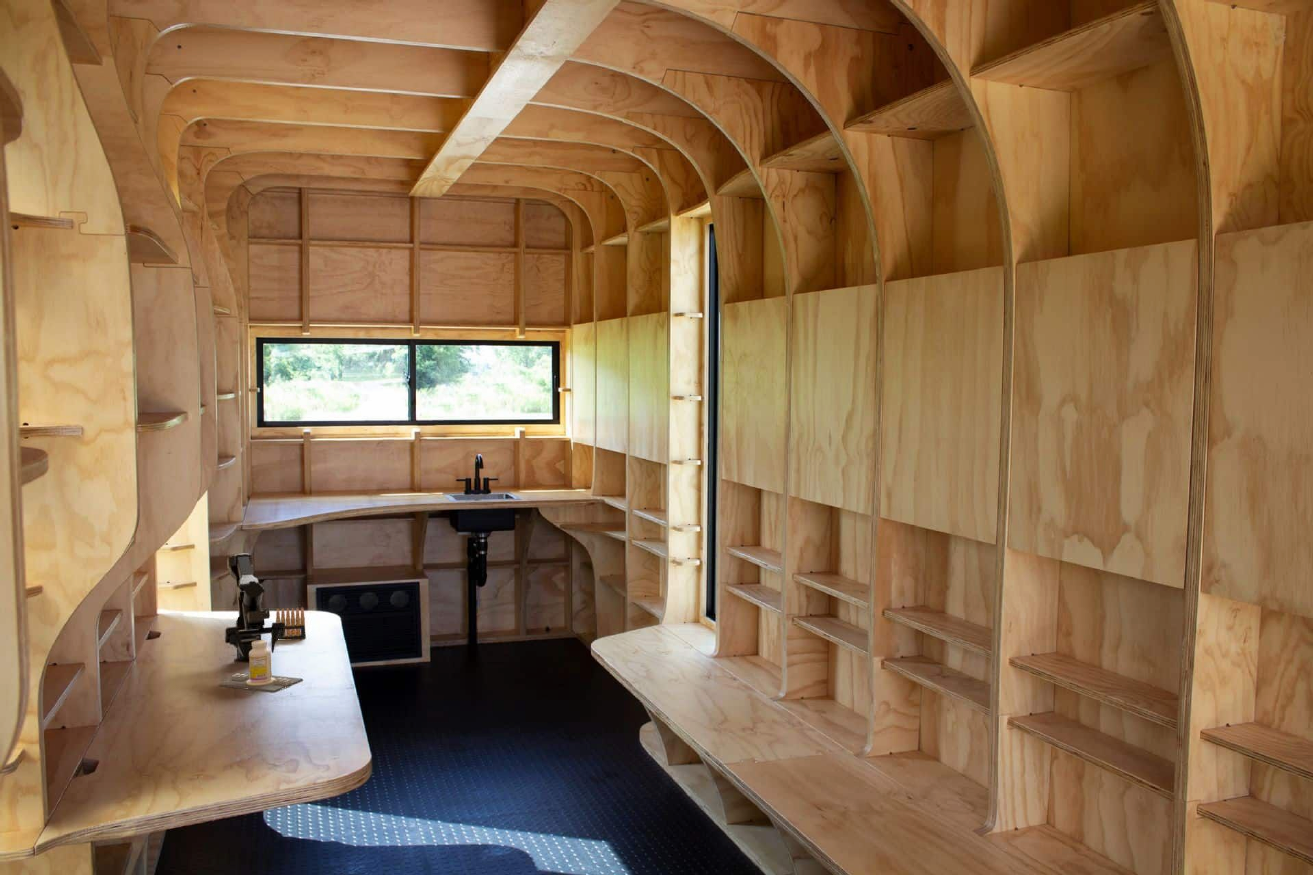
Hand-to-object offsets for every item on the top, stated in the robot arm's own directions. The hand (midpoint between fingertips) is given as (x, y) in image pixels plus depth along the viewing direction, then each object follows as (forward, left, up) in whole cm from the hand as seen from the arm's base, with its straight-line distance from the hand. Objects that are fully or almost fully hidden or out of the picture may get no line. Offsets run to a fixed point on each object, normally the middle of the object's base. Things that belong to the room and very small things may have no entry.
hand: (258, 654), depth 364 cm
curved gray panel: (+3, -3, -9) cm, 10 cm away
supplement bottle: (+3, -3, -8) cm, 9 cm away
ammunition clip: (-27, +50, -9) cm, 57 cm away
